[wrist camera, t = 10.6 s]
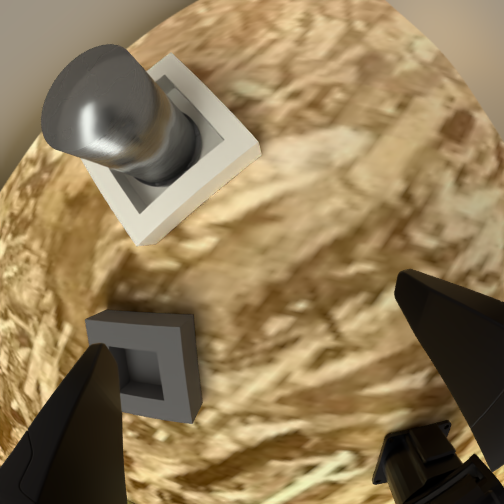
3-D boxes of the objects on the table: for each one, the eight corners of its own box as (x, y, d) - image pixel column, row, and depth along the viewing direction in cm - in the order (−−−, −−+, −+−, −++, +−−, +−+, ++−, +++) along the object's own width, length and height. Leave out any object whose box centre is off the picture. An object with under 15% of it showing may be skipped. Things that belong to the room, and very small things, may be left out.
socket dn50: (261, 155, 18) (258, 141, 15) (155, 244, 19) (136, 246, 16) (183, 71, 18) (170, 52, 15) (94, 152, 19) (72, 143, 16)
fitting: (179, 199, 18) (95, 173, 9) (117, 171, 18) (23, 139, 9) (215, 125, 17) (165, 47, 8) (151, 104, 17) (78, 38, 8)
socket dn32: (202, 402, 19) (192, 424, 16) (120, 391, 20) (104, 407, 17) (193, 314, 19) (179, 327, 16) (106, 309, 19) (84, 319, 17)
